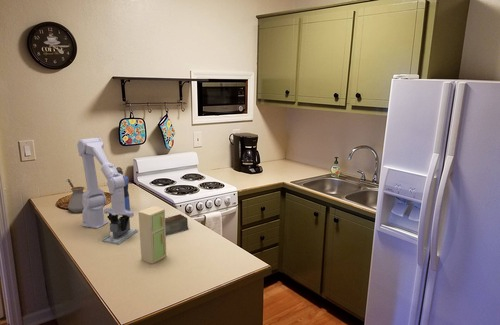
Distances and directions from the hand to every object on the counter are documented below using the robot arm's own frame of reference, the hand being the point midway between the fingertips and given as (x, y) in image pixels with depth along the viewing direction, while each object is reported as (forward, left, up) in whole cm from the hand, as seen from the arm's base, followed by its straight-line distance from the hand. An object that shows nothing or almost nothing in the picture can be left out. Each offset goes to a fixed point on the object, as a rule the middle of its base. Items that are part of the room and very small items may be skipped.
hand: (119, 229), depth 162 cm
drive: (0, 0, -2) cm, 2 cm away
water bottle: (-20, +28, -4) cm, 35 cm away
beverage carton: (+18, +12, -4) cm, 22 cm away
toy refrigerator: (+26, -13, -4) cm, 29 cm away
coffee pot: (-47, +24, -4) cm, 53 cm away
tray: (0, 0, -4) cm, 4 cm away
